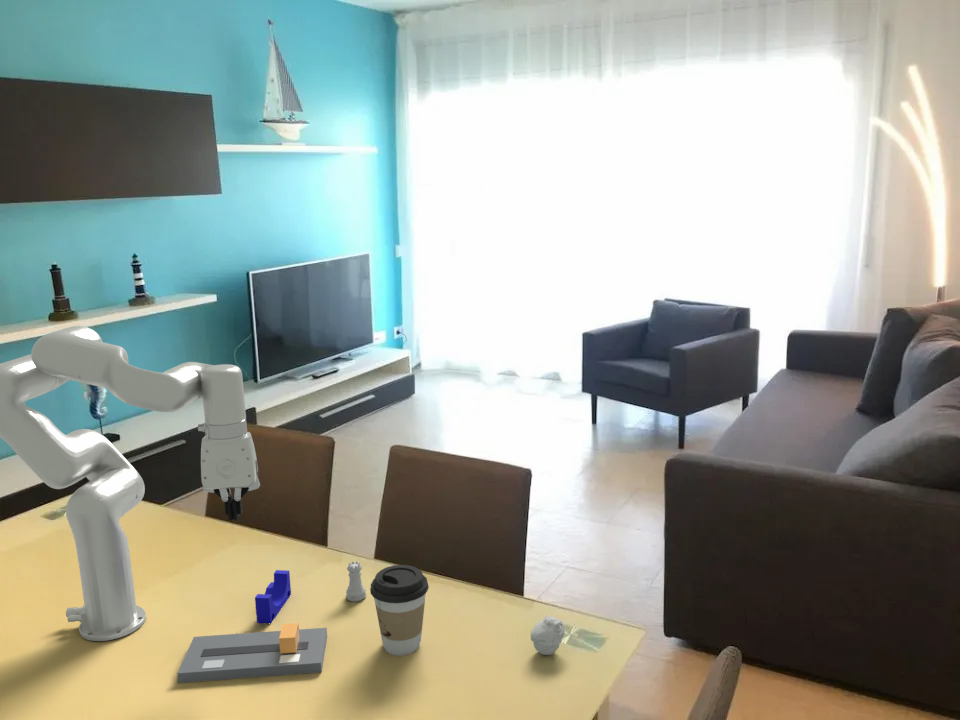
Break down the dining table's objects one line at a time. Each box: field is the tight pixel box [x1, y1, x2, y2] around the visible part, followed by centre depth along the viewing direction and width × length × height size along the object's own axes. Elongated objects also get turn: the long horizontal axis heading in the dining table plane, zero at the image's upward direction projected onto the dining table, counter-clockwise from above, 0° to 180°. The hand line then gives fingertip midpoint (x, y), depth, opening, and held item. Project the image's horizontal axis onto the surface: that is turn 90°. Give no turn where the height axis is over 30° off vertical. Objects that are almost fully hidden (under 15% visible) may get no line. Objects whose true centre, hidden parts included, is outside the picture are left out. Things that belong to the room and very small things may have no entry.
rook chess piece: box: [345, 560, 367, 603], centre depth 173 cm, size 4×4×8 cm
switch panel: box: [176, 627, 328, 684], centre depth 151 cm, size 26×12×2 cm, turn 96°
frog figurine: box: [530, 615, 566, 656], centre depth 151 cm, size 6×7×7 cm
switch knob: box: [279, 622, 300, 654], centre depth 151 cm, size 3×5×3 cm, turn 6°
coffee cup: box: [369, 564, 429, 657], centre depth 153 cm, size 11×11×15 cm
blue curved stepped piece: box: [254, 569, 292, 625], centre depth 169 cm, size 12×4×6 cm, turn 173°
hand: (234, 517), depth 155 cm, fingers closed
